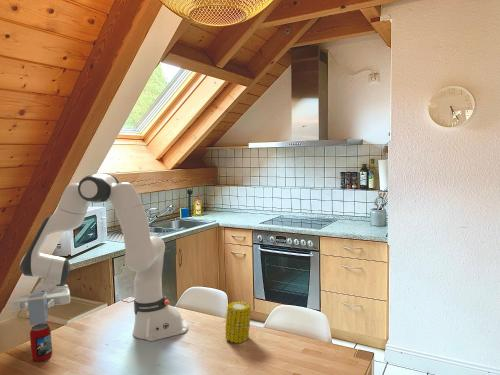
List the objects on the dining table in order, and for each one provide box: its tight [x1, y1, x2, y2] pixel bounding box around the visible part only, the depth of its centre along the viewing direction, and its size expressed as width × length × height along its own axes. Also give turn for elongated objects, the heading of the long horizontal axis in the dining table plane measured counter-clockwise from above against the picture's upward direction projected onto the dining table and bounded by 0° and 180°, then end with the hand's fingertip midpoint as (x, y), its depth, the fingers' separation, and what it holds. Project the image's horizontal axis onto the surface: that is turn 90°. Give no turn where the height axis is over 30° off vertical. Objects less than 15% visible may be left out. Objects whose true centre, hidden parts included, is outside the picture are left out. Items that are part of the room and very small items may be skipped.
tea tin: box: [28, 292, 49, 326], centre depth 147 cm, size 5×5×10 cm
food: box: [224, 300, 252, 344], centre depth 159 cm, size 15×12×10 cm
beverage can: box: [29, 322, 53, 362], centre depth 149 cm, size 7×7×12 cm
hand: (37, 307), depth 146 cm, fingers closed on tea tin, 5 cm apart
